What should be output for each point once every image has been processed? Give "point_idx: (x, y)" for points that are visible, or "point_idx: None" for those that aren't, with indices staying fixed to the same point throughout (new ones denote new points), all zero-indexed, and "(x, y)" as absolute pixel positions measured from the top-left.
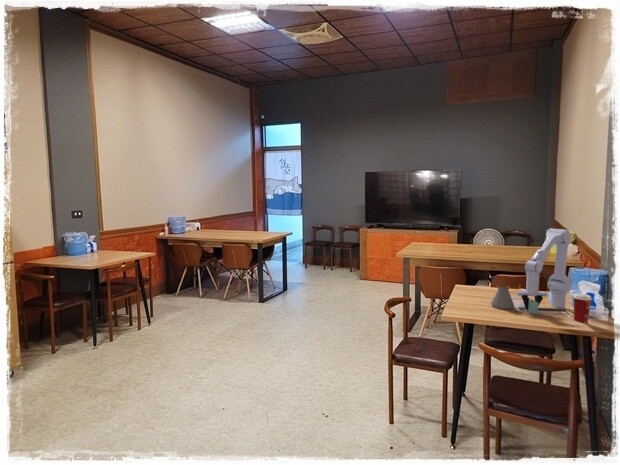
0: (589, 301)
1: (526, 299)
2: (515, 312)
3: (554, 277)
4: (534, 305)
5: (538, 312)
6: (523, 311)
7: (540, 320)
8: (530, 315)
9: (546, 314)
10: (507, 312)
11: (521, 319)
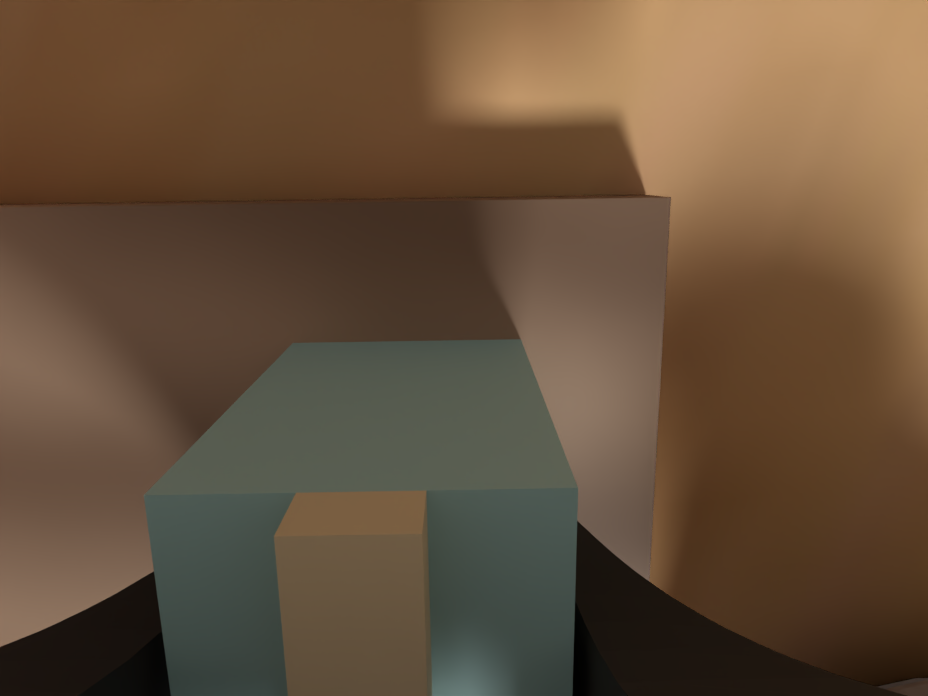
0: None
1: (773, 688)
2: None
3: None
4: (357, 435)
5: None
6: None
7: (319, 35)
8: (538, 200)
9: (45, 363)
10: (898, 608)
11: (809, 53)
